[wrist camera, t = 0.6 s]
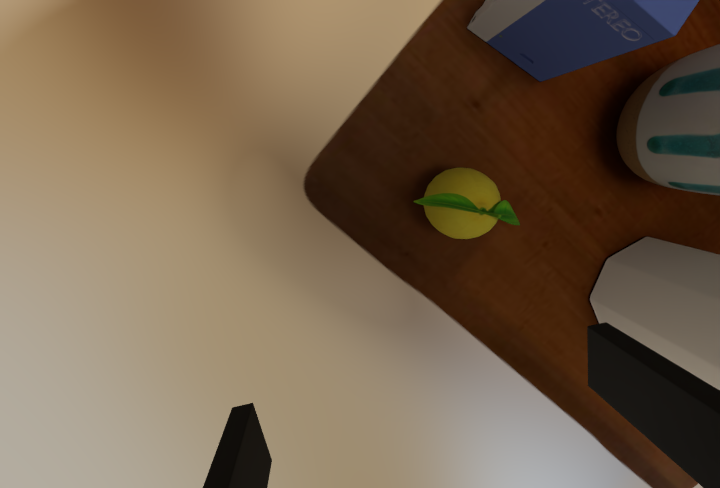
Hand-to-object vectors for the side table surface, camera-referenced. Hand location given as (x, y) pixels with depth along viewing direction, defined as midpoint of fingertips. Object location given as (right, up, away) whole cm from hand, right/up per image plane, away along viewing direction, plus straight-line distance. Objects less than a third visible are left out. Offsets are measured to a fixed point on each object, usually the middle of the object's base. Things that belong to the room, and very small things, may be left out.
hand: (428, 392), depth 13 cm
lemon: (+5, +10, +18) cm, 21 cm away
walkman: (+10, +22, +15) cm, 29 cm away
